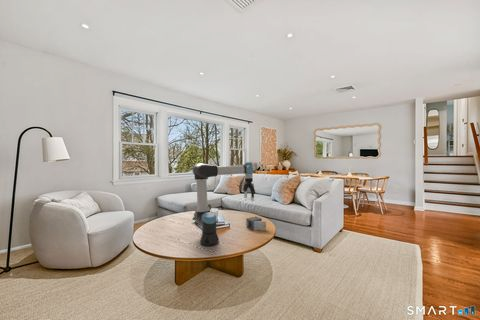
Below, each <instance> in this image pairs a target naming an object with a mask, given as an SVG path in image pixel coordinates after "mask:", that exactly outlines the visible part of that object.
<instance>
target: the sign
mask: <svg viewBox="0 0 480 320" xmlns="http://www.w3.org/2000/svg"><path fill="white" fill-rule="evenodd" d="M207 205H208V208H209V211H210V210H211V209H212V205H211V204H207ZM196 210H197V209H195V211H194V214H193V217H192V221H195V214H196ZM211 211H212V210H211ZM211 211H210V212H211Z"/></svg>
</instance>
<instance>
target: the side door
mask: <svg viewBox="0 0 480 320" xmlns="http://www.w3.org/2000/svg"><path fill="white" fill-rule="evenodd" d="M266 230H267V221H266V220H265V221H264V220H262V221H253V230H252V231H253V232H254V231H266Z"/></svg>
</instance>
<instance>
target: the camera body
mask: <svg viewBox="0 0 480 320" xmlns="http://www.w3.org/2000/svg"><path fill="white" fill-rule="evenodd" d="M262 219H263V218H261V217H260V216H259V217H258V216H255V215H254V216H251V217H247V218H246V221H245V225H246V229H248V230H251V231H253V221H263V220H262Z"/></svg>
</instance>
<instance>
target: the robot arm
mask: <svg viewBox="0 0 480 320" xmlns="http://www.w3.org/2000/svg"><path fill="white" fill-rule="evenodd" d="M253 172H254V166H253V162H249V161H248V162H247V161H246V162H244V164H234V165H219V166H218V165H216V164H208V163H203V162H199V163H197V164H196V163H195V165H194V166H193V168H192V174H193V175H194V176H193V177H194V180H195V181H196V197H197V198H196V199H197V200H196V202H197V208H196V209H195V210H196V214H195V220H196V221H195V220H194V221H195V222H196V223H197V224H199V225H200V226H201V237H200V239H199V243H200V245H201V246H203V247H213V246H216V245H218V244H219V242H220V241H219V240H220V239H219V236H218V233H217V215H216V213H214V212H211V211H209V207H208V205H209V204H208V187H207V186H208V185H207V184H208V182H207V181H208V180H209V178H213V177H214V178H215V177H218V176H228V175H244V177H245V178H244V185H243V189H242V191H243V193H244V195H243V197H244V199H248V189H249V190H250V191H249V192H250V202H252V201H255V194H256V190H255V186H254V181H253V177H254V176H253V175H254V174H253Z"/></svg>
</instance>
